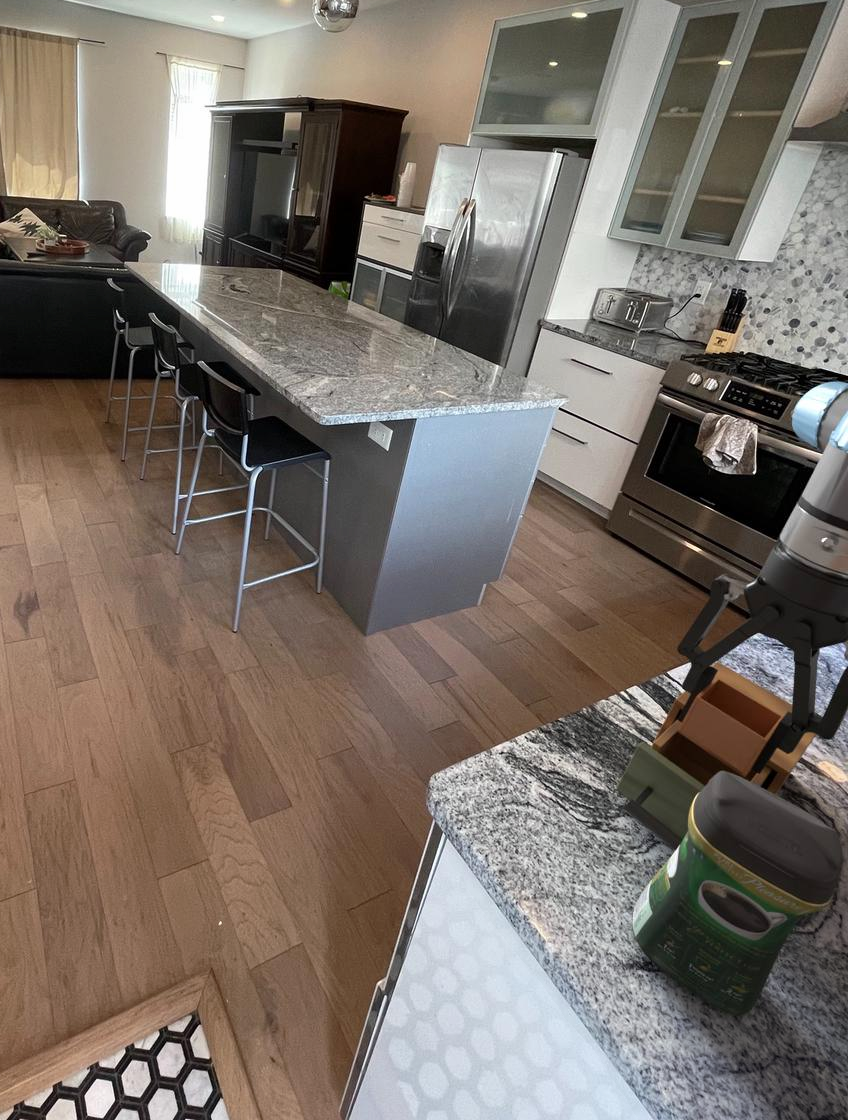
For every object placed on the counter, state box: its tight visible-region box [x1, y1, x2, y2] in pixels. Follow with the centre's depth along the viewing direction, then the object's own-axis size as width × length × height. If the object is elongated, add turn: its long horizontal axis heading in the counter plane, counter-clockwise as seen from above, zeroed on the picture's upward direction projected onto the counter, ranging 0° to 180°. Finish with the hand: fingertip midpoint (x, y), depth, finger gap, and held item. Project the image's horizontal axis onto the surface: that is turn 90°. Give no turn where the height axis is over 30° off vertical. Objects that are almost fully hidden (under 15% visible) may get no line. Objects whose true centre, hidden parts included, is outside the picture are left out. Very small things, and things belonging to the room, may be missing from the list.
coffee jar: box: [631, 771, 844, 1016], centre depth 53 cm, size 10×8×19 cm
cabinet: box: [650, 661, 817, 796], centre depth 76 cm, size 14×12×9 cm
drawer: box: [615, 720, 773, 852], centre depth 68 cm, size 17×10×7 cm, turn 127°
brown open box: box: [678, 677, 784, 777], centre depth 66 cm, size 6×6×5 cm
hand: (721, 740), depth 67 cm, fingers closed on brown open box, 6 cm apart
